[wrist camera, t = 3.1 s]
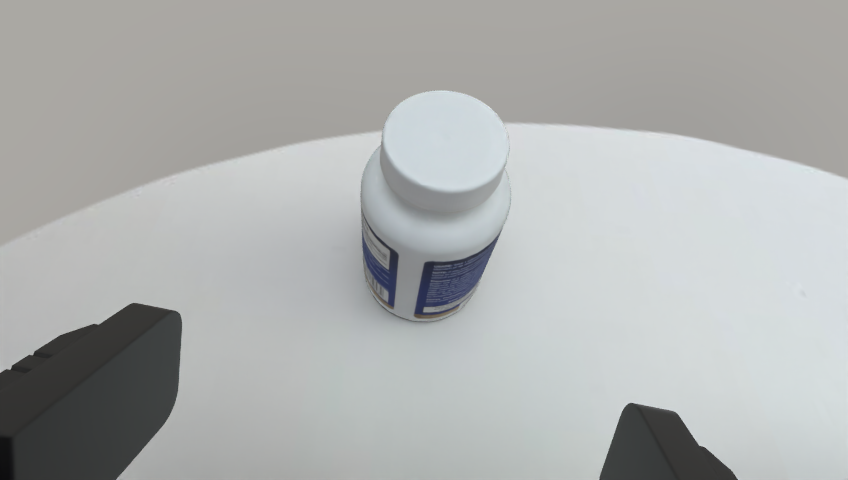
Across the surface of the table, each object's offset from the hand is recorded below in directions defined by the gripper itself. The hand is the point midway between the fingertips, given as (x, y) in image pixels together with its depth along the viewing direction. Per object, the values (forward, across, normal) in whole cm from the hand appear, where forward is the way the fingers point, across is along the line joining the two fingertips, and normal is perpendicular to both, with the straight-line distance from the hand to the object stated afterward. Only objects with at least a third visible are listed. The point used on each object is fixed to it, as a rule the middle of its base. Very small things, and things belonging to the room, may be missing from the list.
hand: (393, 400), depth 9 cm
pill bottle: (+15, 0, +3) cm, 16 cm away
